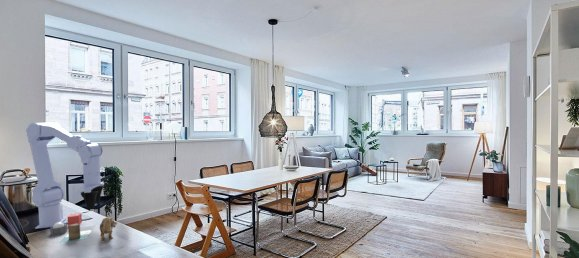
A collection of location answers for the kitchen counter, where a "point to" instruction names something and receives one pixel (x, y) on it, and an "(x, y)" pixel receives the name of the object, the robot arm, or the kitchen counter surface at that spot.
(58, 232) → the dome housing
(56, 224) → the dome cap
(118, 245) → the kitchen counter surface
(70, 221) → the red die
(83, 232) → the game track
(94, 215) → the kitchen counter surface
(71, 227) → the walnut pawn
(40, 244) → the kitchen counter surface
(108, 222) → the lion figurine
